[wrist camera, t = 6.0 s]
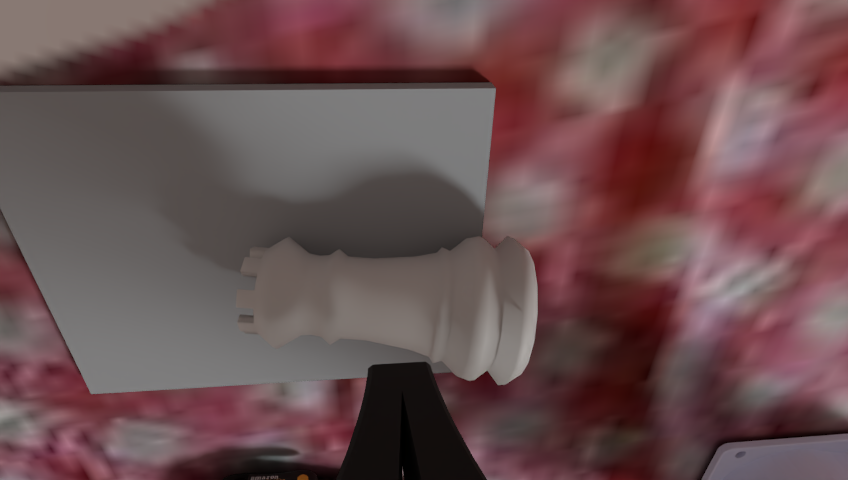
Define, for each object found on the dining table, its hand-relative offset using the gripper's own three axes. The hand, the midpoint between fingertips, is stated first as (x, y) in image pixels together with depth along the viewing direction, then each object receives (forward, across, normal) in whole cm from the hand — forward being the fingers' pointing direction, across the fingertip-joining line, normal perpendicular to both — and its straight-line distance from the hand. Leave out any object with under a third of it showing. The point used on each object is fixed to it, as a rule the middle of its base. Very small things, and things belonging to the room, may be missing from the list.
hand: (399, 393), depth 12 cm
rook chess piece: (+3, -4, +1) cm, 5 cm away
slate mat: (+6, +4, 0) cm, 7 cm away
